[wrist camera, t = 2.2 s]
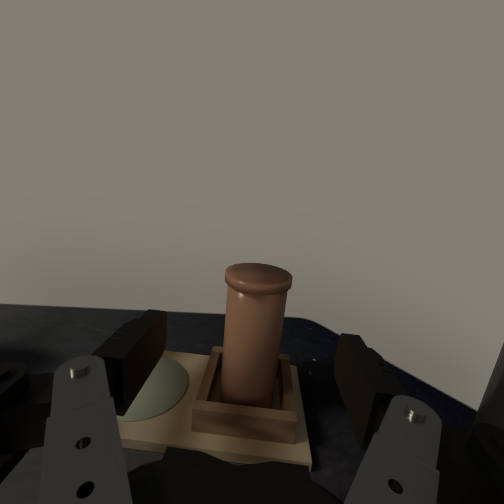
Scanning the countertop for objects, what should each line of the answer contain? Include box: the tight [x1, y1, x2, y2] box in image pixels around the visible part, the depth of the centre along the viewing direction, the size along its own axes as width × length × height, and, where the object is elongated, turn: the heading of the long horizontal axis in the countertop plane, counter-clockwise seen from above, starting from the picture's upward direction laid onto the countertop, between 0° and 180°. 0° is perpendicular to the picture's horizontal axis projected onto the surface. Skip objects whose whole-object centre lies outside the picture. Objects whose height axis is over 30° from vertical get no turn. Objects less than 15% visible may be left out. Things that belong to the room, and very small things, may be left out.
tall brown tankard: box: [220, 263, 292, 409], centre depth 27 cm, size 6×8×14 cm
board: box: [116, 346, 312, 472], centre depth 27 cm, size 22×12×4 cm, turn 87°
